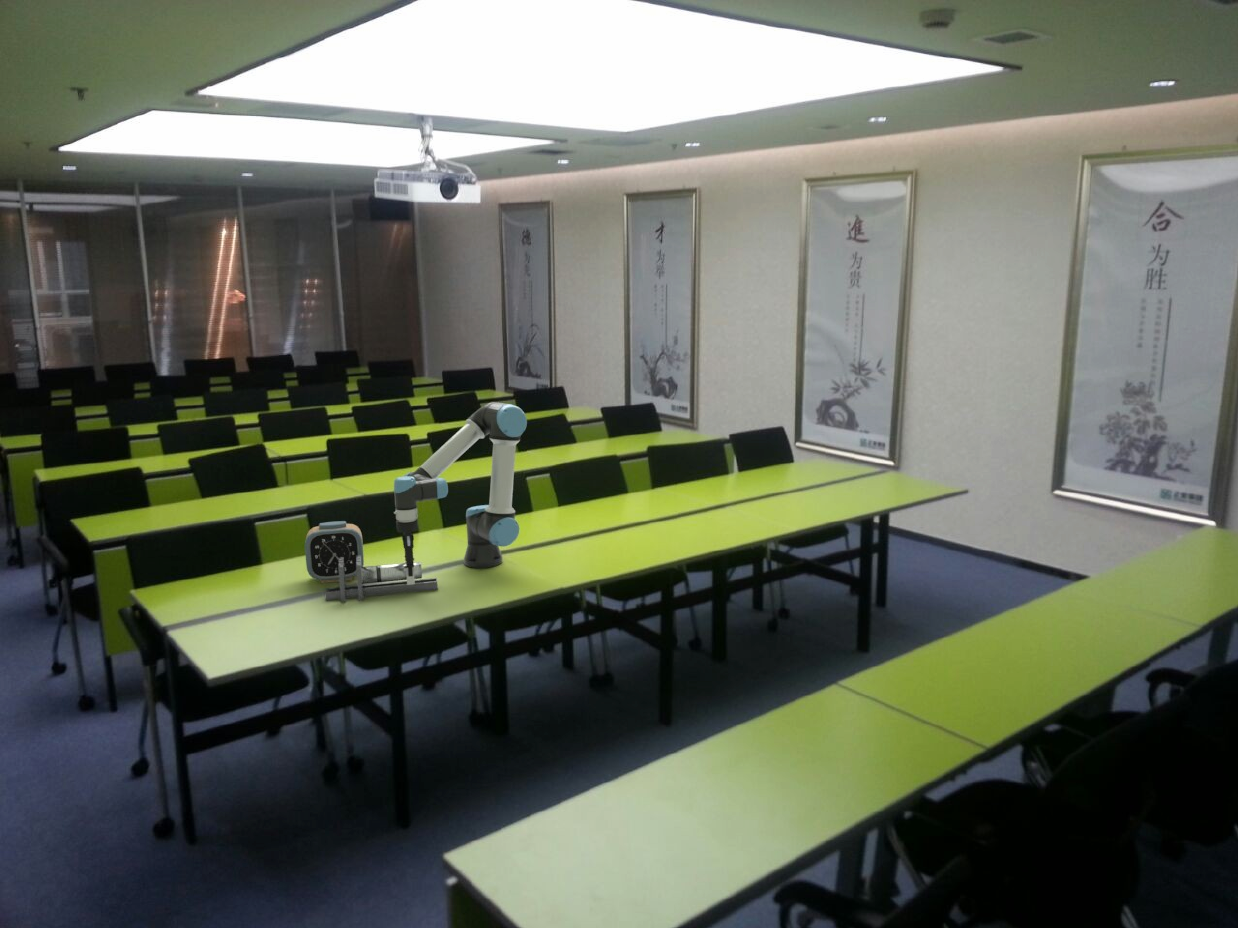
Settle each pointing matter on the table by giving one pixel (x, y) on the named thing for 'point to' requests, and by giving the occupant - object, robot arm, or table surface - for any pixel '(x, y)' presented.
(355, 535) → the alarm clock
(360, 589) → the gray metal rack
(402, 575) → the tube
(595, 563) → the table surface
